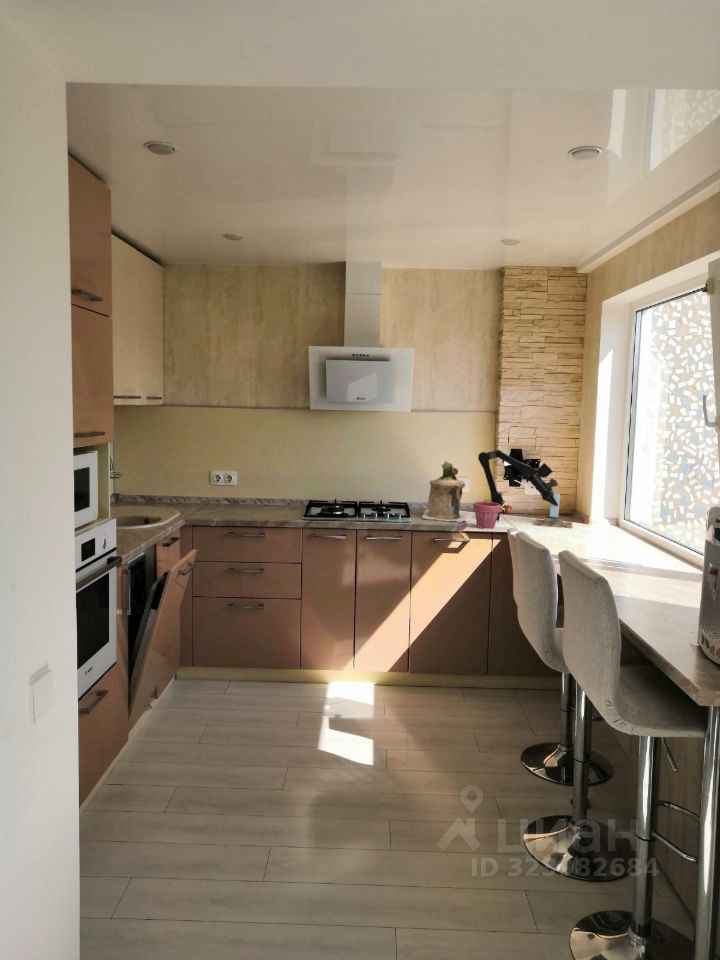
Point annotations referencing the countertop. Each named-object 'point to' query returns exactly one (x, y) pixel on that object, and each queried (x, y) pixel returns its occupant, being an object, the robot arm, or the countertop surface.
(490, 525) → the plant pot
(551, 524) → the jig cradle
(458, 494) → the cookie jar
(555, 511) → the block
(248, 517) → the countertop surface
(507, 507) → the toy helicopter
